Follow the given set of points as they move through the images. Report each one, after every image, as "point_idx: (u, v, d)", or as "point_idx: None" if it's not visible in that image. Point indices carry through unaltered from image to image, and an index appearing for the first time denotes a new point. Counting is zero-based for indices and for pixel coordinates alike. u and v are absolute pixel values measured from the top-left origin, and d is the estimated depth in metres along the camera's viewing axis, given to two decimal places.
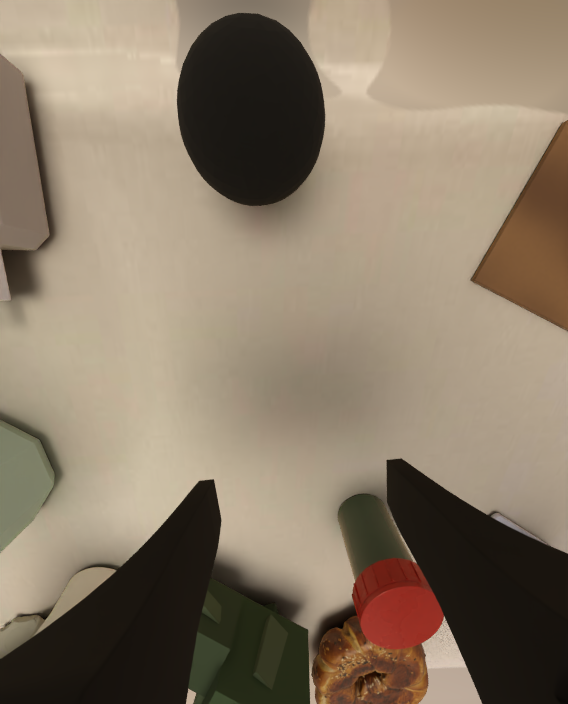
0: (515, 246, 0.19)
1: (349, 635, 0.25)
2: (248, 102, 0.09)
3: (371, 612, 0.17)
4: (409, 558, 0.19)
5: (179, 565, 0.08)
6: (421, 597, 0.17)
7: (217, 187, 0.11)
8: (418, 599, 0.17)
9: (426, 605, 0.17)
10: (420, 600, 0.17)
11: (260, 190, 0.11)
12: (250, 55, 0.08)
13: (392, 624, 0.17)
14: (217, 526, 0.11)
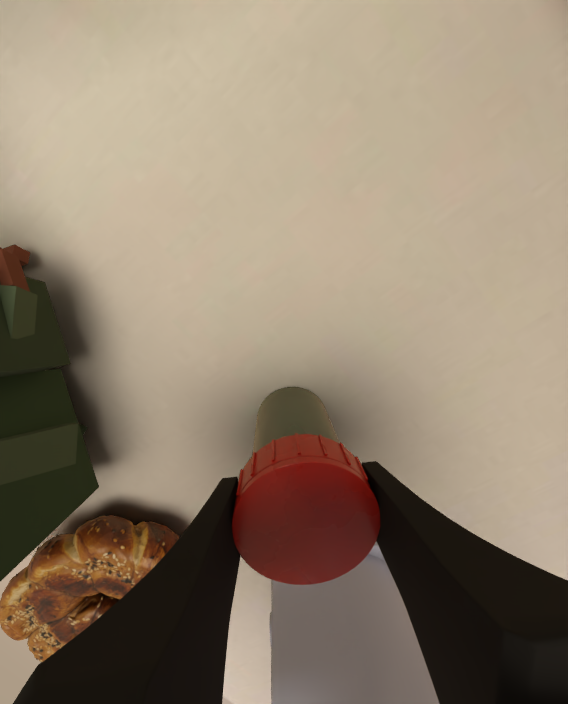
0: None
1: (139, 536, 0.16)
2: None
3: (285, 479, 0.09)
4: None
5: (213, 561, 0.08)
6: (362, 517, 0.10)
7: None
8: (356, 517, 0.10)
9: (354, 534, 0.10)
10: (356, 520, 0.10)
11: None
12: None
13: (287, 523, 0.09)
14: None
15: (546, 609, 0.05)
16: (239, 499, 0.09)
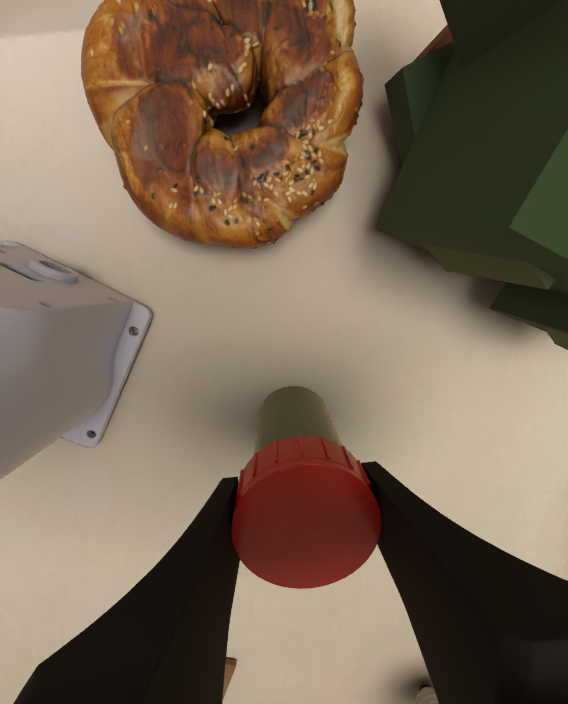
0: None
1: (293, 219, 0.13)
2: None
3: (287, 481, 0.09)
4: None
5: (213, 561, 0.08)
6: (363, 522, 0.09)
7: None
8: (357, 521, 0.09)
9: (354, 539, 0.10)
10: (357, 524, 0.09)
11: None
12: None
13: (287, 526, 0.09)
14: None
15: (544, 609, 0.05)
16: (240, 500, 0.09)
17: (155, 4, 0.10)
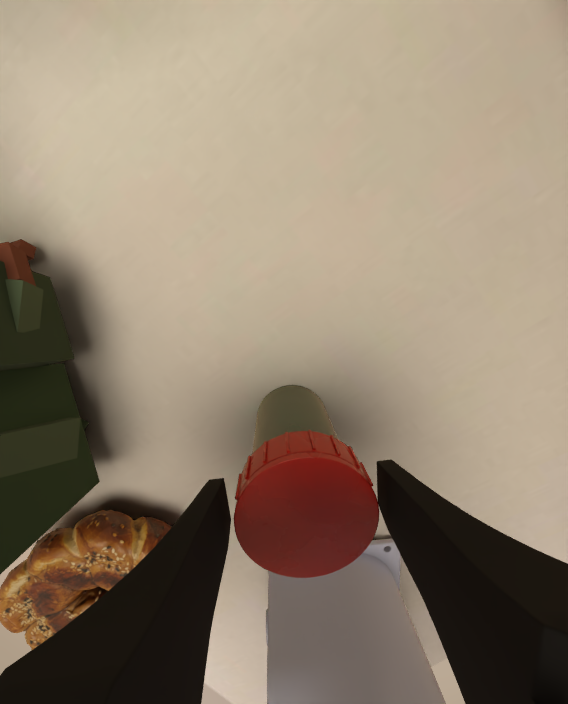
0: None
1: (138, 531, 0.16)
2: None
3: (278, 563, 0.10)
4: None
5: (194, 563, 0.08)
6: (265, 491, 0.09)
7: None
8: (268, 496, 0.10)
9: (286, 484, 0.09)
10: (271, 493, 0.09)
11: None
12: None
13: (314, 536, 0.10)
14: (227, 525, 0.11)
15: None
16: (319, 575, 0.10)
17: None
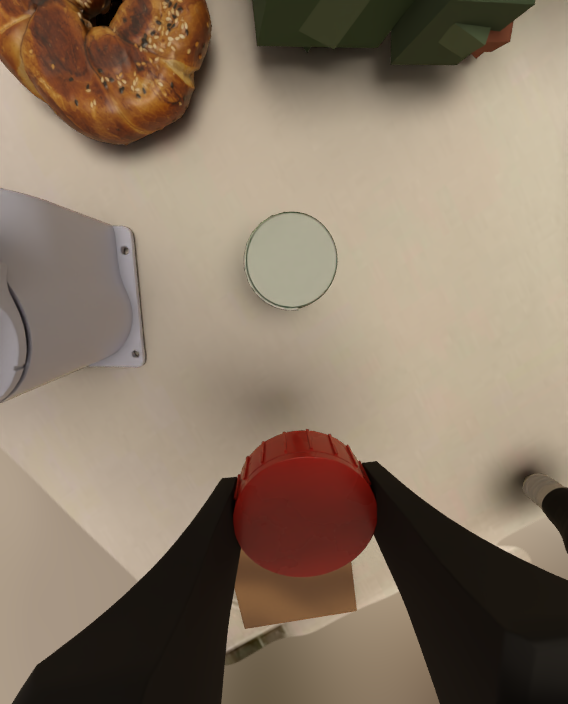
0: None
1: (189, 75, 0.15)
2: None
3: (277, 562, 0.10)
4: None
5: (212, 561, 0.08)
6: (263, 491, 0.09)
7: None
8: (266, 496, 0.10)
9: (283, 484, 0.09)
10: (269, 493, 0.10)
11: None
12: None
13: (313, 535, 0.10)
14: None
15: (546, 609, 0.05)
16: (319, 574, 0.10)
17: None
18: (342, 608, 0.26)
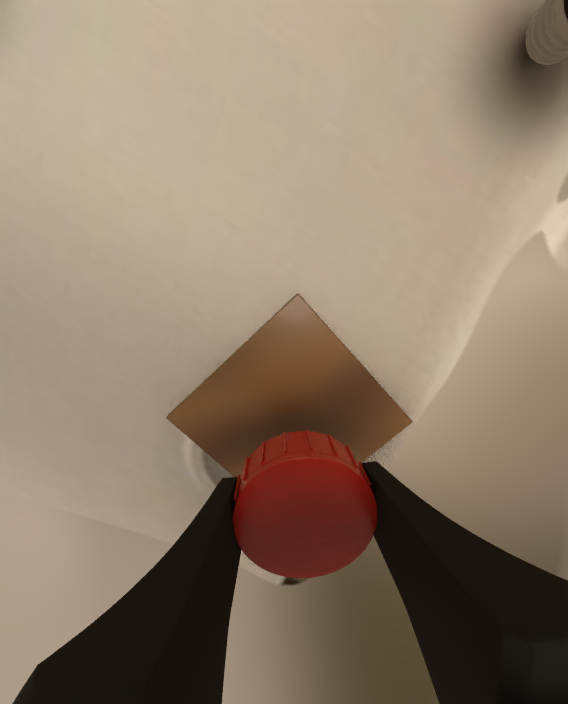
0: (316, 350, 0.16)
1: None
2: None
3: (277, 563, 0.10)
4: None
5: (213, 561, 0.08)
6: (263, 492, 0.09)
7: None
8: (266, 497, 0.10)
9: (283, 485, 0.09)
10: (269, 494, 0.09)
11: None
12: None
13: (313, 536, 0.10)
14: None
15: (545, 609, 0.05)
16: (319, 575, 0.10)
17: None
18: (390, 428, 0.18)
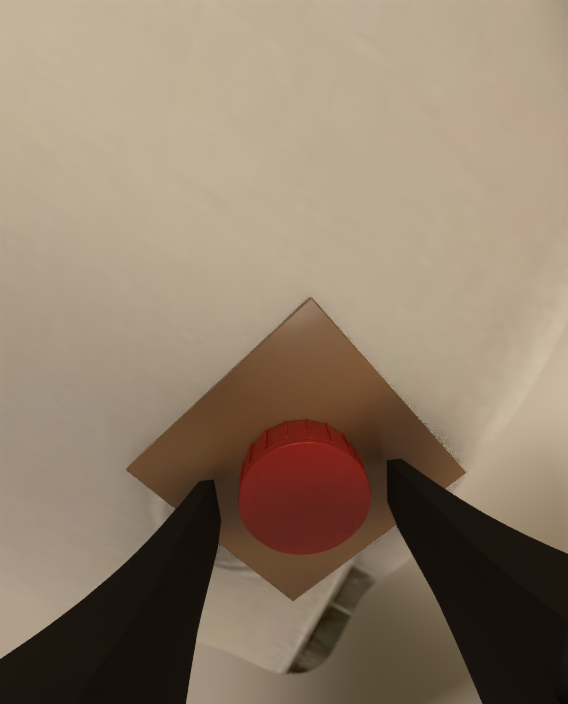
0: (336, 377, 0.11)
1: None
2: None
3: (279, 541, 0.11)
4: None
5: (179, 565, 0.08)
6: (266, 474, 0.10)
7: None
8: (269, 479, 0.10)
9: (285, 468, 0.10)
10: (271, 476, 0.10)
11: None
12: None
13: (312, 515, 0.11)
14: (217, 526, 0.11)
15: None
16: (317, 552, 0.11)
17: None
18: (435, 482, 0.13)
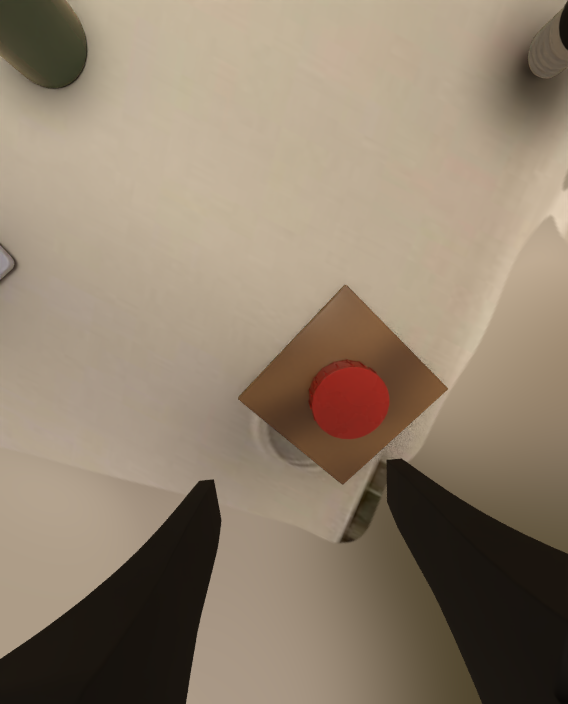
0: (363, 331, 0.19)
1: None
2: None
3: (336, 430, 0.19)
4: None
5: (179, 565, 0.08)
6: (328, 388, 0.18)
7: None
8: (329, 391, 0.18)
9: (338, 383, 0.18)
10: (331, 389, 0.18)
11: None
12: None
13: (355, 413, 0.18)
14: (217, 526, 0.11)
15: None
16: (359, 437, 0.19)
17: None
18: (429, 396, 0.20)
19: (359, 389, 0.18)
